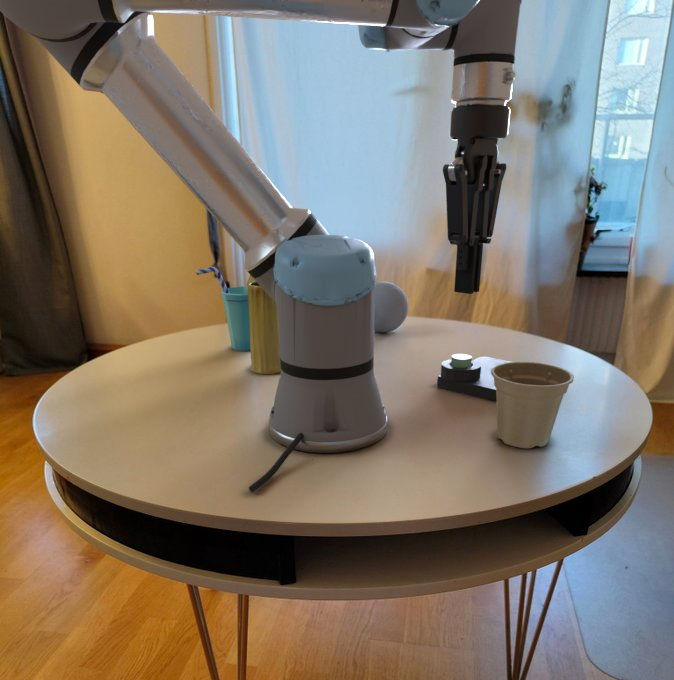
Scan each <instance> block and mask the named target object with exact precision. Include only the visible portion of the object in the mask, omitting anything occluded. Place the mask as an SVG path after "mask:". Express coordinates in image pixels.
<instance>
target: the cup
mask: <svg viewBox="0 0 674 680" xmlns="http://www.w3.org/2000/svg"><path fill="white" fill-rule="evenodd" d="M209 273H214V274H215V275H216V277H217V279H218V282H219V284H220V286H221V288H222V290H220V297H221V298H222V300H223V305H224V306H223V307H224V310H225V311H224V312H225V317H226V323H227V329H228V332H229V338H230V344H231V348H232V349H233V350H234V351H237V352H249V351H250V319H249V301H248V283H250V282H254V281H256V280H255V279H254V278H253V277H252V276H251V275H250V274H249V277H248V279H247V283H246V286H235V287H227V285H226V281H225V279H224V277H223V276H222V273H221V271H220V270H219V269H218V268H216V267H215V266H209V267H205V268H200V269H196V270H195V274H196V275H197V276H199V275H204V274H209ZM250 352H251V351H250Z"/></svg>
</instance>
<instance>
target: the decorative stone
mask: <svg viewBox="0 0 674 680" xmlns="http://www.w3.org/2000/svg"><path fill="white" fill-rule="evenodd" d="M408 313H409V300H408V297H407V295H406V293H405V292H404V290H403V289H402V288H401V287H400V286H398V285H397V284H395V283H393V282H390V281H378V282H376V283H375V307H374V332H376V333H384V334H385V333H390V332H393V331H395V330H397V329H398V328H400V327H401V326H402V325H403V323H404V322H405V320H406V318H407V316H408Z"/></svg>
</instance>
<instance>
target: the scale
mask: <svg viewBox="0 0 674 680" xmlns="http://www.w3.org/2000/svg"><path fill="white" fill-rule="evenodd" d="M451 360H452V358H451V359H445V360H443V361H441V365H440V366H441V367H440V375H438V376H437V382H436V383H437V384H436V387H437V388H441V389H443V390H449V391H453V392H457V393H461V394H466V395H468V396H469V395H470V396H473V397H476V398H477V397H478V398H482V399H485V400H491V401H495V402H497V399H496V387H495V385H494V377H493V376H492V374H491V370H492V368H493V367H495V366H497V365H499V364H503V363H508V362H512V361H510V360H506V359H500V358H495V357H490V356H486V355H485V356H484V355H481V356H479V357H477V358H475V359H472V362H471V367H468V368H457V367H452V366H451Z"/></svg>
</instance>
